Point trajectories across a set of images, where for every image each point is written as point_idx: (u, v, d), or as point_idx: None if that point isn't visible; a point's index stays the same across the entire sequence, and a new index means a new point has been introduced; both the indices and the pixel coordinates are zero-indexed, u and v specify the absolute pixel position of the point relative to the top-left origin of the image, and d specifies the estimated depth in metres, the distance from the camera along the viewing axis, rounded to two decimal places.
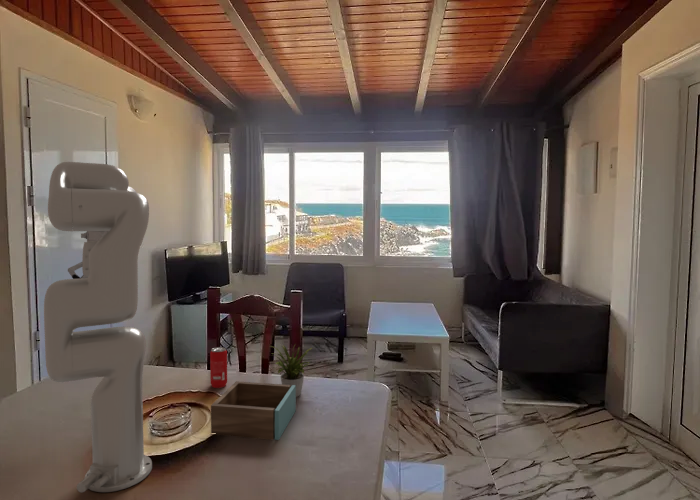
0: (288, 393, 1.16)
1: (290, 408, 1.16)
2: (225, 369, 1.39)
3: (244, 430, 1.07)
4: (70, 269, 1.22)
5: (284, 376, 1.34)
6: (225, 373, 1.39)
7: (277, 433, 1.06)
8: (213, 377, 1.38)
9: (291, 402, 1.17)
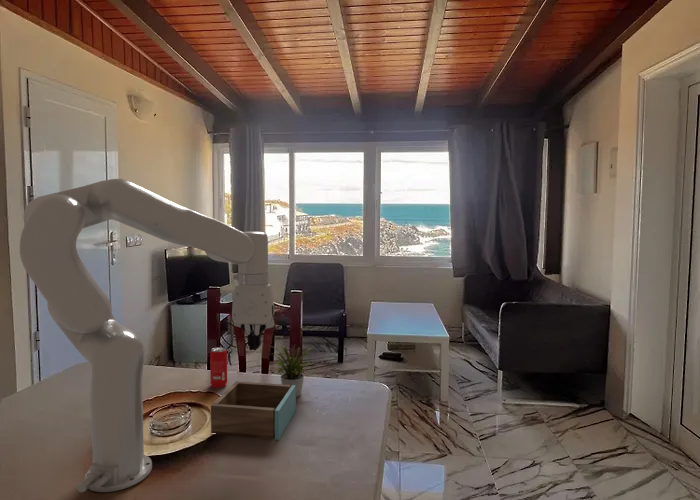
0: (288, 393, 1.16)
1: (290, 408, 1.16)
2: (225, 369, 1.39)
3: (244, 430, 1.07)
4: (235, 323, 1.13)
5: (284, 376, 1.34)
6: (225, 373, 1.39)
7: (277, 433, 1.06)
8: (213, 377, 1.38)
9: (291, 402, 1.17)
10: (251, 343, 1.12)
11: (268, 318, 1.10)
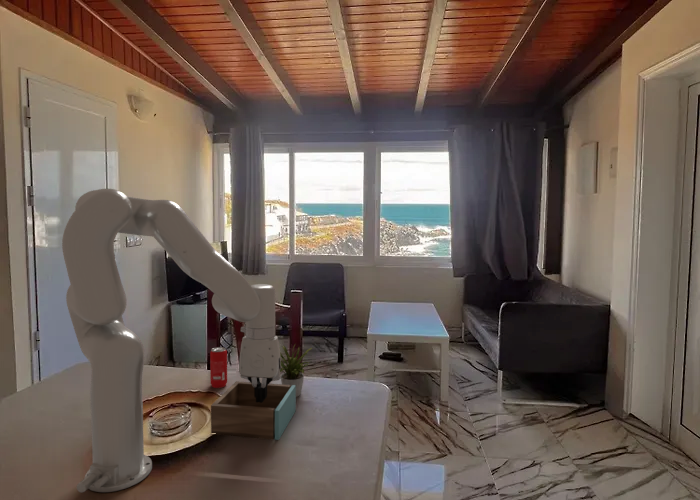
0: (288, 393, 1.16)
1: (290, 408, 1.16)
2: (225, 369, 1.39)
3: (244, 430, 1.07)
4: (242, 375, 1.14)
5: (284, 376, 1.34)
6: (225, 373, 1.39)
7: (277, 433, 1.06)
8: (213, 377, 1.38)
9: (291, 402, 1.17)
10: (258, 395, 1.13)
11: (275, 372, 1.11)
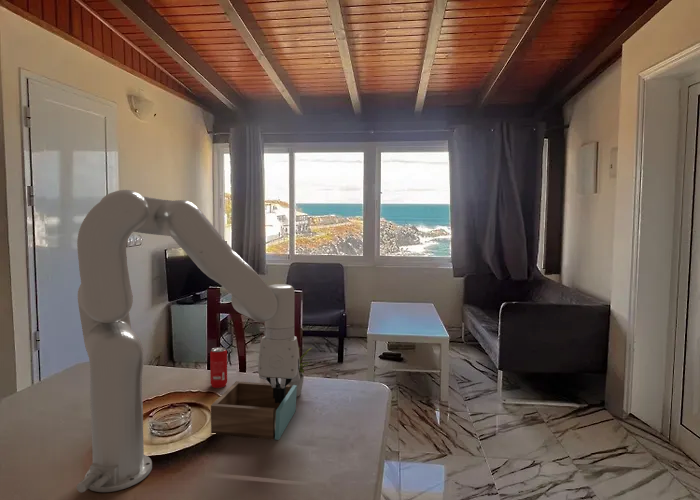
0: (289, 393, 1.15)
1: (290, 408, 1.16)
2: (225, 369, 1.39)
3: (244, 430, 1.07)
4: (260, 375, 1.13)
5: None
6: (225, 373, 1.39)
7: (277, 433, 1.06)
8: (213, 377, 1.38)
9: (292, 402, 1.17)
10: (277, 396, 1.12)
11: (294, 372, 1.10)
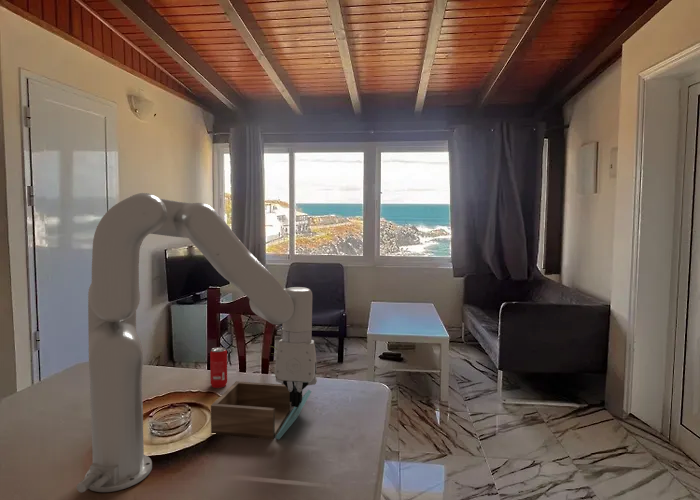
0: (305, 399, 1.15)
1: None
2: (225, 369, 1.39)
3: (244, 430, 1.07)
4: (277, 378, 1.12)
5: None
6: (225, 373, 1.39)
7: (281, 434, 1.06)
8: (213, 377, 1.38)
9: None
10: (293, 400, 1.11)
11: (312, 376, 1.09)
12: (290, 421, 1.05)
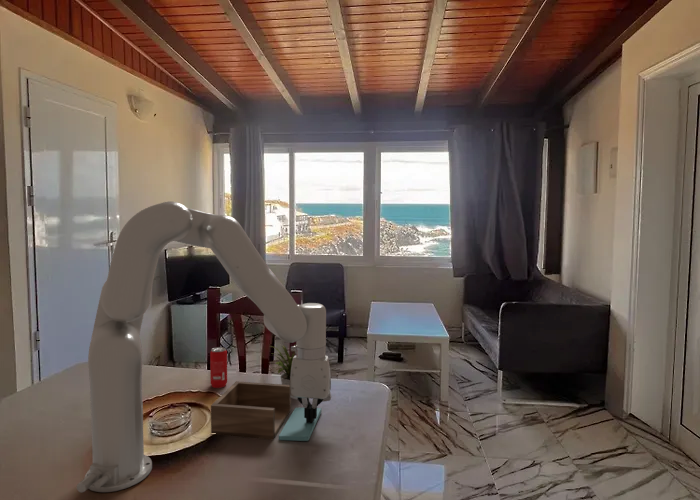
0: (317, 419, 1.15)
1: None
2: (225, 369, 1.39)
3: (244, 430, 1.07)
4: (291, 395, 1.12)
5: (284, 376, 1.34)
6: (225, 373, 1.39)
7: (285, 438, 1.06)
8: (213, 377, 1.38)
9: None
10: (308, 416, 1.11)
11: (327, 392, 1.09)
12: (301, 437, 1.05)
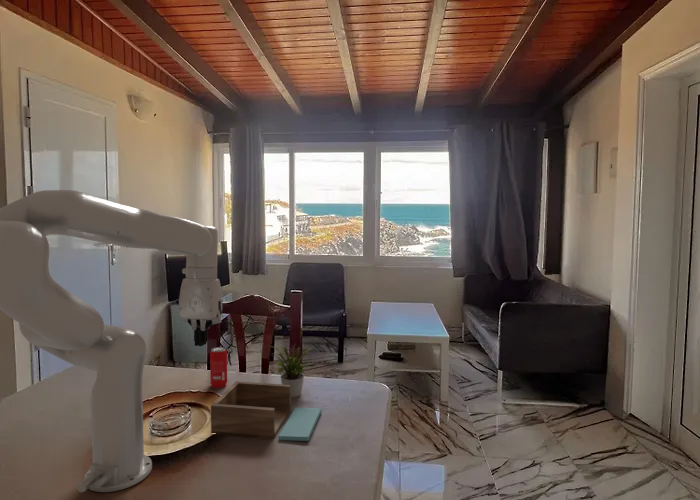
0: (317, 419, 1.15)
1: None
2: (225, 369, 1.39)
3: (244, 430, 1.07)
4: (182, 317, 1.12)
5: (284, 376, 1.34)
6: (225, 373, 1.39)
7: (285, 438, 1.06)
8: (213, 377, 1.38)
9: None
10: (197, 339, 1.10)
11: (213, 313, 1.08)
12: (301, 437, 1.05)
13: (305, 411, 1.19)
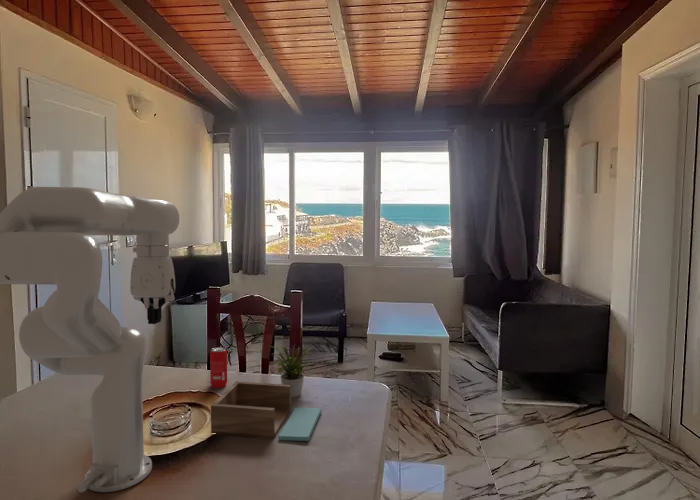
0: (317, 419, 1.15)
1: None
2: (225, 369, 1.39)
3: (244, 430, 1.07)
4: (135, 296, 1.12)
5: (284, 376, 1.34)
6: (225, 373, 1.39)
7: (285, 438, 1.06)
8: (213, 377, 1.38)
9: None
10: (150, 317, 1.11)
11: (165, 291, 1.08)
12: (301, 437, 1.05)
13: (305, 411, 1.19)
